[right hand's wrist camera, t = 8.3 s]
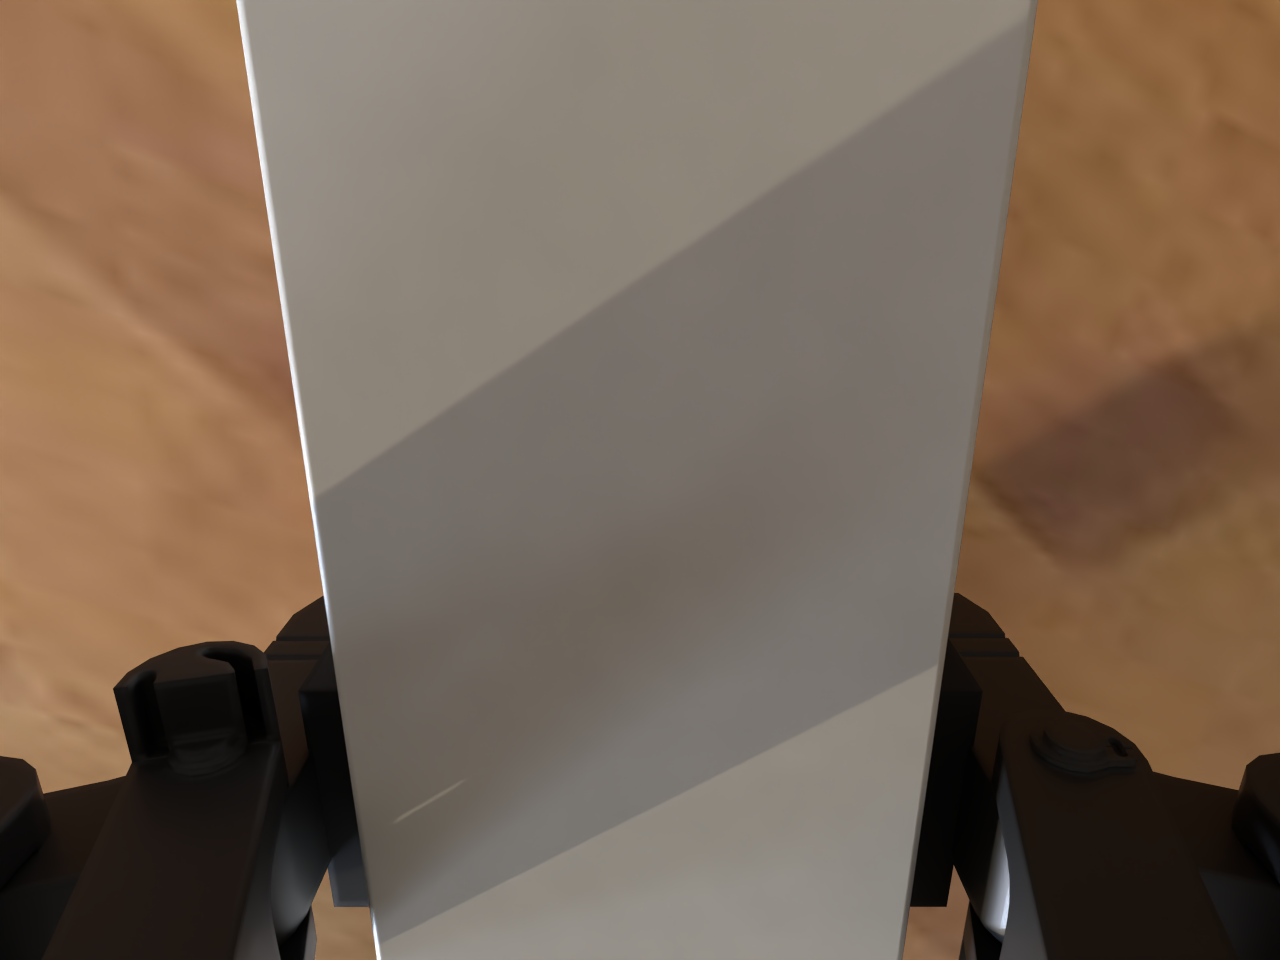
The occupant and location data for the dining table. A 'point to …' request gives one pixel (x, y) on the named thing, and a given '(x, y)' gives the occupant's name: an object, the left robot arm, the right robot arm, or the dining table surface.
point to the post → (638, 446)
